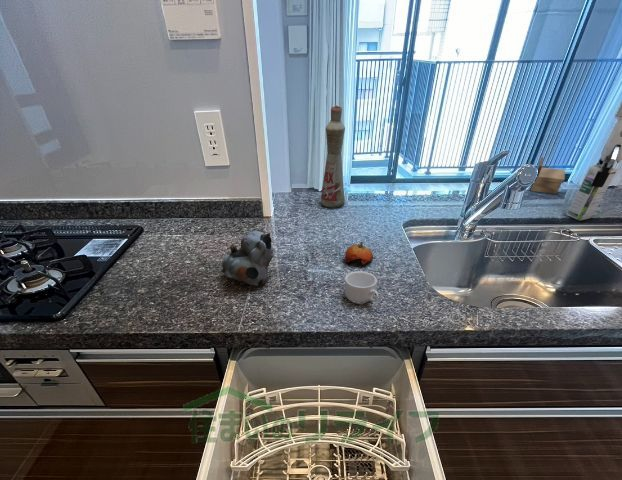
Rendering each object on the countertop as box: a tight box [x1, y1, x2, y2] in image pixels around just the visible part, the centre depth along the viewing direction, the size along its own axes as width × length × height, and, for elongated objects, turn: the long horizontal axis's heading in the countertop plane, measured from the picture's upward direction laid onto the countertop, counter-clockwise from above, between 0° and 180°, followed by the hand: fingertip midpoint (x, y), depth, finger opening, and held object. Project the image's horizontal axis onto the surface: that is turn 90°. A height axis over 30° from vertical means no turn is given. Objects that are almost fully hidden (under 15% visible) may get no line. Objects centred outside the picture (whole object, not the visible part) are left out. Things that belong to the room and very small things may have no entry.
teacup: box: [344, 270, 380, 305], centre depth 89 cm, size 10×8×5 cm
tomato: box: [344, 241, 374, 266], centre depth 103 cm, size 8×7×7 cm
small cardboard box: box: [530, 157, 566, 195], centre depth 140 cm, size 10×12×8 cm
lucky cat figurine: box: [220, 230, 275, 287], centre depth 95 cm, size 15×12×14 cm
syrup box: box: [565, 164, 618, 222], centre depth 118 cm, size 6×6×14 cm
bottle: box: [320, 104, 346, 209], centre depth 122 cm, size 9×9×28 cm
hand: (596, 181), depth 116 cm, fingers closed on syrup box, 8 cm apart
